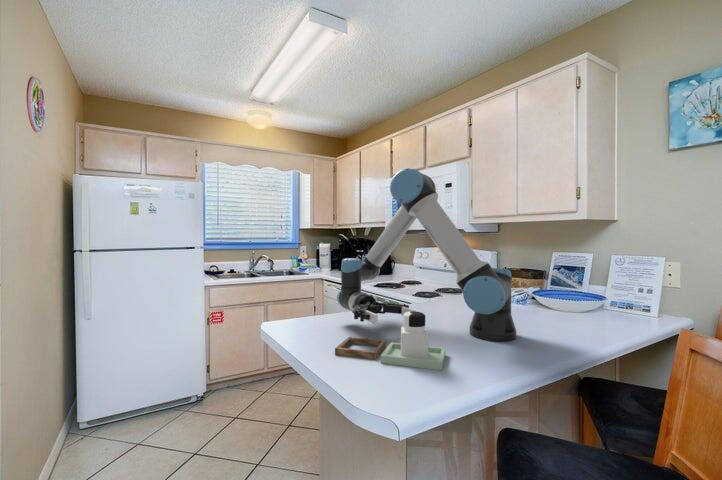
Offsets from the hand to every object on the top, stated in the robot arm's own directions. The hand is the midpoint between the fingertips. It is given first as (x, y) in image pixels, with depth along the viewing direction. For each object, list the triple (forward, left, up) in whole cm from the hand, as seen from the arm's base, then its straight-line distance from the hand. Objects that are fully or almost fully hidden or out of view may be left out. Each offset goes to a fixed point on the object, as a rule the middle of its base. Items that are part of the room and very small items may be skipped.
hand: (396, 317), depth 104 cm
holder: (+9, +5, -10) cm, 14 cm away
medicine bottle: (-6, +7, -9) cm, 13 cm away
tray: (-7, +7, -10) cm, 13 cm away
